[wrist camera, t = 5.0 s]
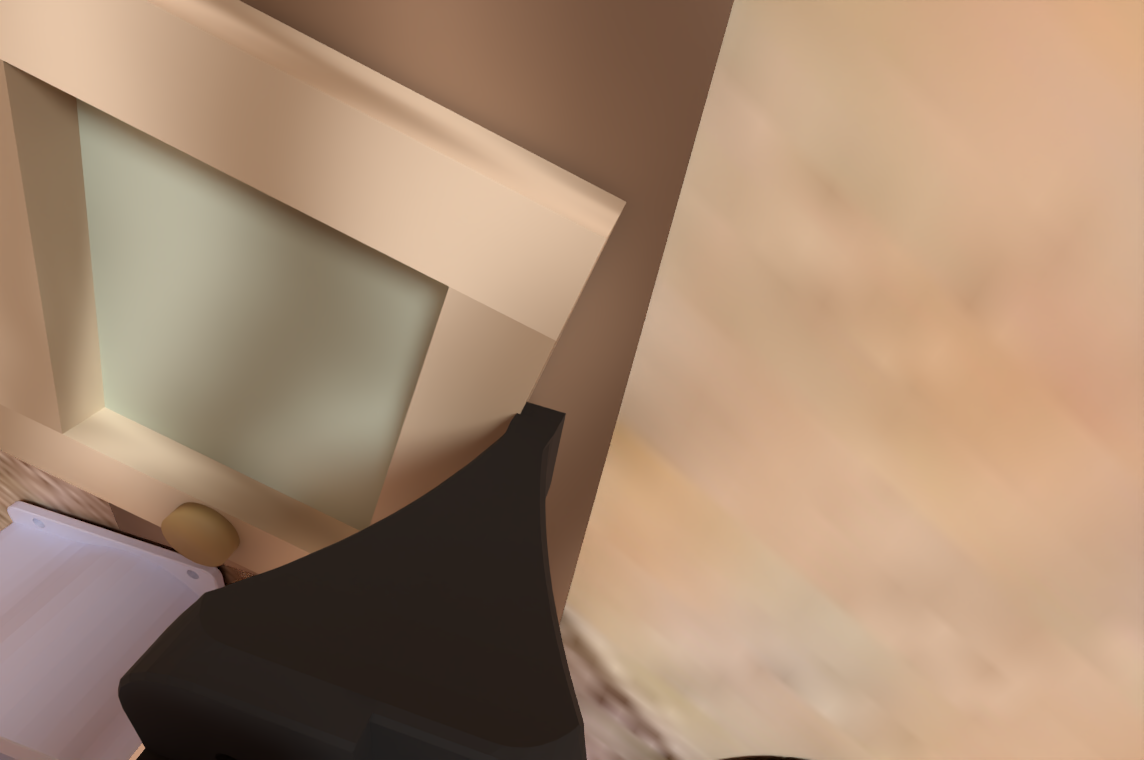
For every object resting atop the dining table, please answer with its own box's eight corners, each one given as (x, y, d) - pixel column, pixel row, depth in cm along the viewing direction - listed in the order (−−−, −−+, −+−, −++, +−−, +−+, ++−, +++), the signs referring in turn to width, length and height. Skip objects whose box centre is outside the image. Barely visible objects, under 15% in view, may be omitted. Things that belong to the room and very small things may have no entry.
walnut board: (153, 501, 22) (117, 531, 21) (-84, -207, 11) (-193, -236, 10) (557, 631, 21) (545, 674, 19) (743, -37, 10) (746, -44, 8)
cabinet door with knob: (70, 408, 17) (-19, 462, 15) (-6, -127, 10) (-200, -163, 8) (436, 585, 18) (397, 661, 16) (626, 202, 10) (600, 249, 8)
